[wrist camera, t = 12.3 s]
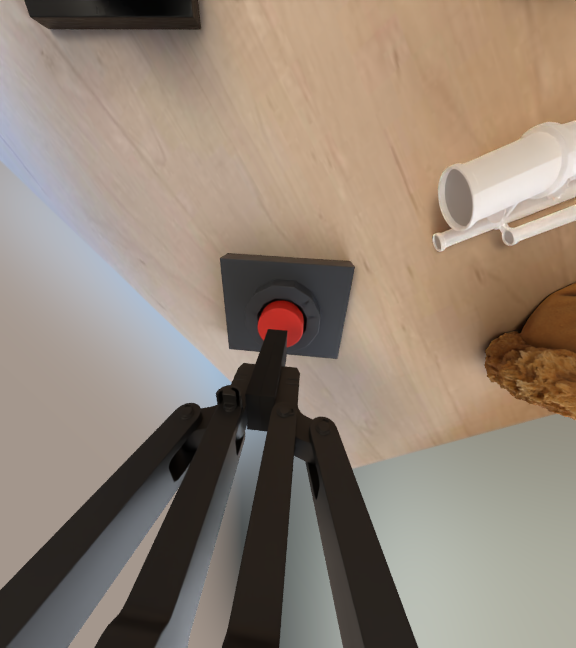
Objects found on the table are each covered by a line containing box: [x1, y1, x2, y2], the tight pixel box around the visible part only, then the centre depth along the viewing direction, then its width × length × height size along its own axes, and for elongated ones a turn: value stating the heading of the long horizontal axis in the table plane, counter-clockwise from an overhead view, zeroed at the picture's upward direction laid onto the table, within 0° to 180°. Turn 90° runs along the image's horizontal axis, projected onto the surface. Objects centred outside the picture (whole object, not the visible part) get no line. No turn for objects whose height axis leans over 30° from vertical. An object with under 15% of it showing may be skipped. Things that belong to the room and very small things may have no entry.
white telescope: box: [432, 120, 576, 252], centre depth 14 cm, size 8×14×5 cm
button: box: [258, 301, 304, 347], centre depth 20 cm, size 4×4×2 cm
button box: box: [220, 253, 355, 359], centre depth 22 cm, size 12×10×4 cm
